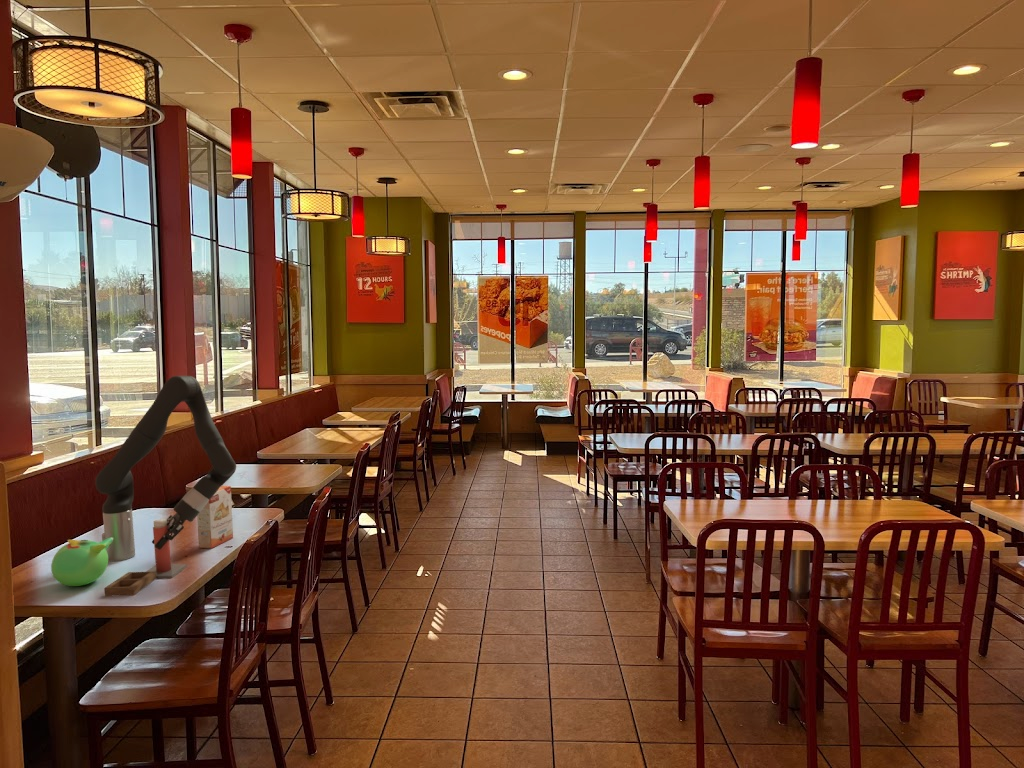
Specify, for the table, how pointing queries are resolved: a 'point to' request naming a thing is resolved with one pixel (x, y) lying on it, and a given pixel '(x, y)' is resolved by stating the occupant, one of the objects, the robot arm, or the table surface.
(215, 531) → the cracker box
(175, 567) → the slate tile
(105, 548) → the toy bird
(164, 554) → the pepper mill
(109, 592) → the caddy
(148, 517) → the table surface
